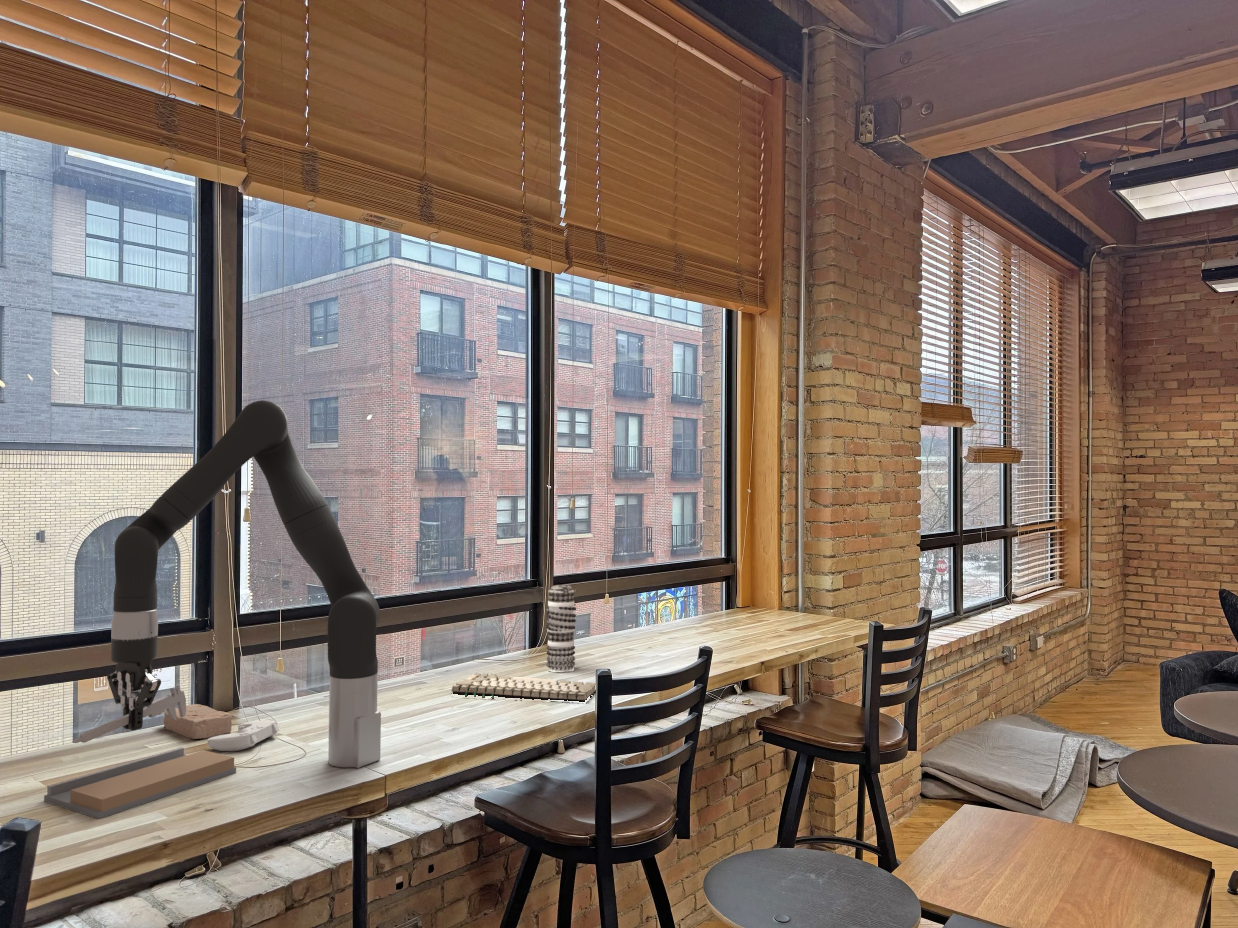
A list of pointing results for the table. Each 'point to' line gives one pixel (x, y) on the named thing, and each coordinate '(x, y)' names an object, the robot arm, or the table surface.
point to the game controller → (244, 736)
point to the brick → (199, 722)
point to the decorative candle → (561, 628)
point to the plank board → (138, 782)
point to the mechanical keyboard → (523, 688)
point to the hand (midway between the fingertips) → (132, 728)
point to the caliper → (151, 710)
